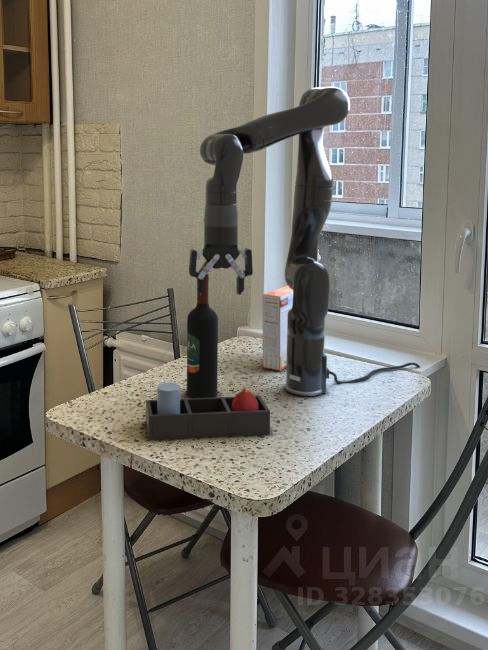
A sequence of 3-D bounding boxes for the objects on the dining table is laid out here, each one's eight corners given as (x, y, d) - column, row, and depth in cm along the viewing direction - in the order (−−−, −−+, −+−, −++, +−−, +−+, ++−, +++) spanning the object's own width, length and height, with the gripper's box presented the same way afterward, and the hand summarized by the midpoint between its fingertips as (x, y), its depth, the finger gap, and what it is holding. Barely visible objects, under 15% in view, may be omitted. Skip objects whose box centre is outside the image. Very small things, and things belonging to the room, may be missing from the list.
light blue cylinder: (178, 422, 147) (178, 382, 146) (181, 431, 142) (181, 390, 141) (155, 423, 146) (156, 383, 146) (157, 432, 141) (157, 391, 141)
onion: (229, 418, 149) (229, 382, 148) (255, 417, 149) (255, 382, 149) (233, 428, 143) (234, 392, 142) (260, 428, 144) (261, 391, 143)
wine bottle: (214, 401, 161) (215, 277, 158) (183, 398, 162) (184, 276, 160) (219, 389, 168) (220, 271, 166) (189, 387, 170) (190, 270, 167)
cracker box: (284, 355, 197) (285, 284, 195) (302, 359, 193) (304, 287, 191) (260, 367, 185) (261, 293, 183) (280, 372, 182) (281, 296, 180)
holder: (259, 417, 151) (260, 395, 151) (269, 434, 142) (270, 411, 142) (145, 422, 148) (145, 400, 148) (148, 440, 139) (148, 416, 139)
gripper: (192, 225, 146) (191, 299, 148) (256, 224, 148) (255, 297, 149) (187, 222, 153) (187, 291, 155) (248, 221, 155) (247, 290, 157)
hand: (220, 294), depth 152 cm, fingers open, 8 cm apart
